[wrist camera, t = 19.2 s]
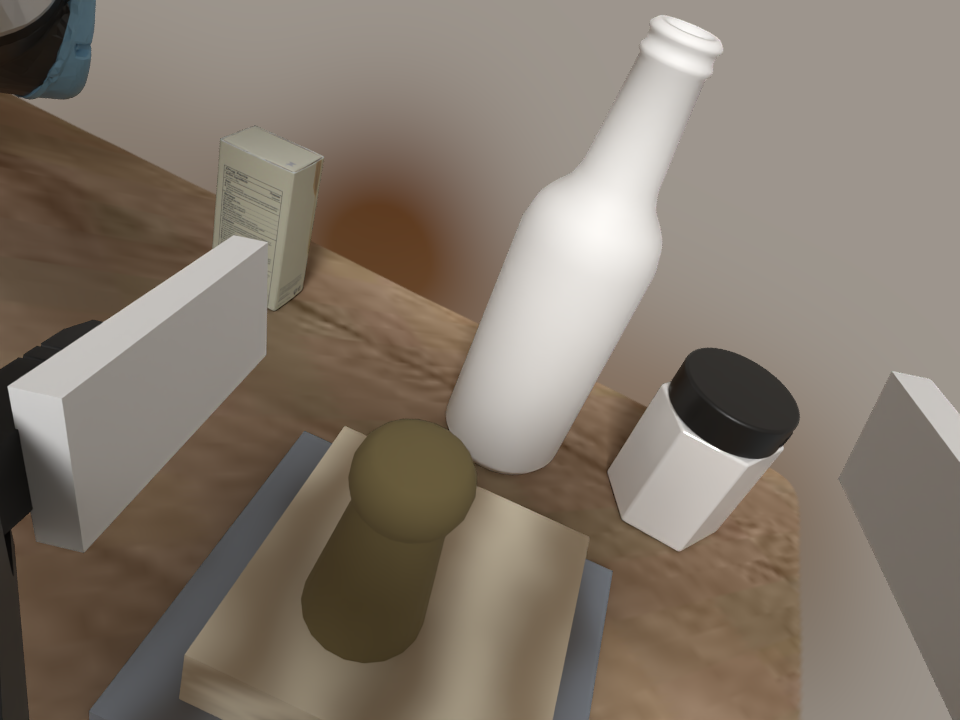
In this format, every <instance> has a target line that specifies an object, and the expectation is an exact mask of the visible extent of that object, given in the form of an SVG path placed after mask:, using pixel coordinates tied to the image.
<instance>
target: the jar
mask: <svg viewBox="0 0 960 720" xmlns="http://www.w3.org/2000/svg"><path fill="white" fill-rule="evenodd" d="M799 418H800V414H799V409H798V406H797V403H796V401H795V400H794V398H793V396H792V395H791V393H790V392H789V391H788V390H787V388H786V387H785V386H784V385H783V384H782V383H781V382H780V381H779V380H778V379H777V378H776V377H775V376H774V375H772V374H771V373H770V372H769V371H767V370H766V369H764V368H763V367H761V366H760V365H758V364H757V363H755V362H753V361H751V360H749V359H748V358H746V357H743V356H741V355H739V354H736V353H733V352H730V351H727V350H723V349H717V348H701V349H697V350H695V351H693V352H691V353H690V354H689V355H688V356H687V358H686V359H685V361H684V362H683V364H682V365H681V367H680V368H679V370H678V372H677V373H676V375H675V376H674V378H673V379H672V381H670V382H667V383H664V384H662V385H661V387H660V388H659V390H658V391H657V393H656V395H655V396H654V398H653V399H652V401H651V403H650V404H649V406H648V407H647V409H646V410H645V412H644V414H643V415H642V417H641V418H640V420H639V422H638V423H637V425H636V426H635V428H634V430H633V431H632V433H631V434H630V436H629V438H628V439H627V441H626V442H625V444H624V445H623V447H622V449H621V450H620V452H619V453H618V455H617V457H616V458H615V460H614V461H613V463H612V465H611V466H610V468H609V469H608V472H607V473H608V476H609V480H610V483H611V486H612V489H613V493H614V496H615V499H616V502H617V506H618V509H619V512H620V516H621V519H622V520H623V521H625V522H626V523H628V524H630V525H632V526H633V527H635V528H637V529H639V530H641V531H642V532H644V533H646V534H648V535H649V536H651V537H653V538H655V539H657V540H658V541H660V542H662V543H664V544H665V545H667V546H669V547H671V548H673V549H674V550H676V551H682V550H683V549H685V548H687V547H689V546H691V545H692V544H694V543H696V542H698V541H700V540H701V539H703V538H705V537H707V536H709V535H710V534H712V533H714V532H716V531H717V529H718V528H719V527H720V526H721V525H722V523H723V522H724V521H725V520H726V519H727V517H728V516H729V515H730V514H731V512H732V511H733V510H734V509H735V508H736V506H737V505H738V504H739V503H740V502H741V500H742V499H743V498H744V497H745V496H746V494H747V493H748V492H749V491H750V490H751V488H752V487H753V486H754V485H755V484H756V482H757V481H758V480H759V479H760V477H761V476H762V475H763V474H764V473H765V471H766V470H767V469H768V468H769V467H770V465H771V464H772V463H773V461H775V459H776V458H777V457H778V456H779V454H780V453H781V452H782V451H783V449H784V447H783V445H784V444H785V443H786V442H787V440H788V439H789V438H790V436H791V435H792V433H793V431H794V430H795V429H796V427H797V425H798V423H799Z"/></svg>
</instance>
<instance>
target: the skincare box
mask: <svg viewBox="0 0 960 720" xmlns="http://www.w3.org/2000/svg"><path fill="white" fill-rule="evenodd" d="M323 161H324V156H322V155H320V154H317V153H315V152H313V151H311V150H309V149H307V148H305V147H302V146H300V145H298V144H296V143H294V142H292V141H289V140H287V139H285V138H282V137H280V136H278V135H276V134H273V133H271V132H269V131H267V130H264V129H262V128H260V127H258V126H252V127H250V128H247V129H244V130H242V131H239V132H236V133H234V134H231V135H228V136H225V137H223V138H221V139H220V150H219V165H218V178H217V192H216V206H215V220H214V234H213V247H212V249H214V248H215V247H217V246H218V245H220V244H221V243H223V242H224V241H226V240H227V239H229V238H230V237H232V236H233V235H235V236H240V237H245V238H250V239H255V240H260V241H264V242H268V274H267V308H269V309H271V310H273V311H275V310H277V309H278V308H280V307H281V306H282V305H284V304H285V303H287V302H288V301H289V300H290V299H292V298H293V297H294V296H295V295H297V294H298V293H299V292H300V291H301V290H302V288H303V282H304V277H305V271H306V265H307V259H308V253H309V247H310V241H311V234H312V229H313V223H314V216H315V210H316V204H317V198H318V191H319V186H320V180H321V174H322V168H323Z"/></svg>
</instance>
